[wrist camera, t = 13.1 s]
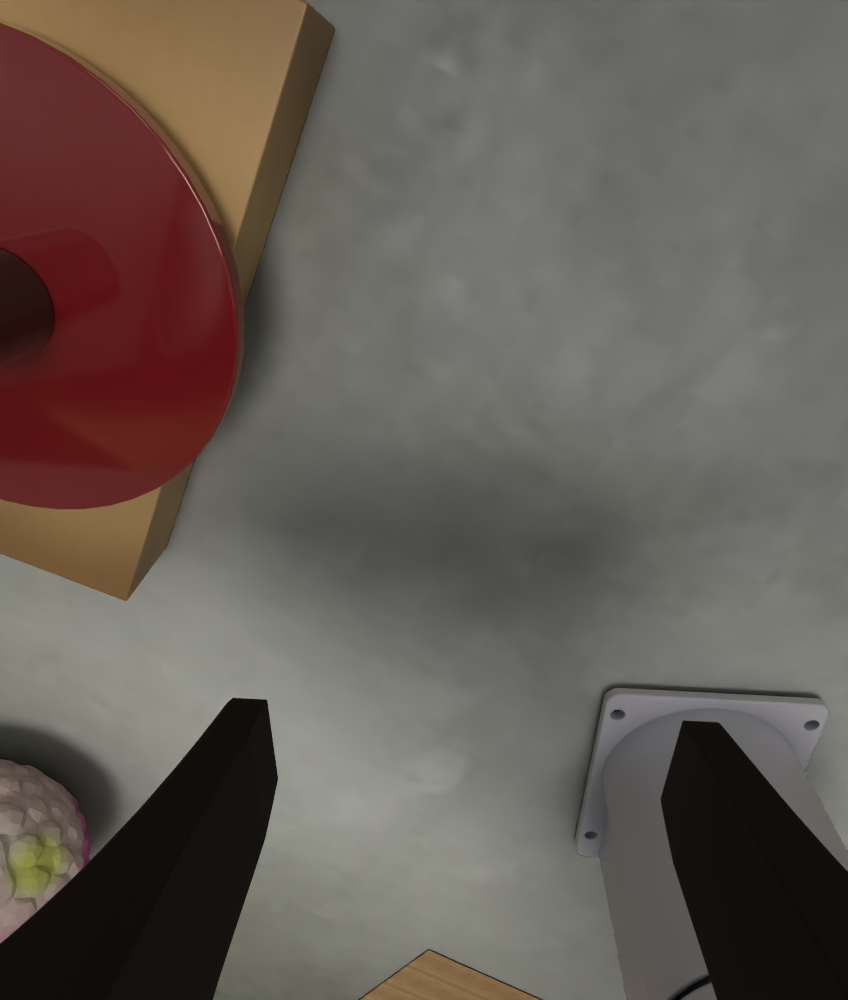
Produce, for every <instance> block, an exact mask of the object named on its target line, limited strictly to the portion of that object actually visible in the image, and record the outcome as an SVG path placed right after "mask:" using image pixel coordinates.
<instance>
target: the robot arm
mask: <svg viewBox="0 0 848 1000" xmlns="http://www.w3.org/2000/svg"><path fill="white" fill-rule="evenodd" d="M614 710H620V711H618V712H613V711H614ZM829 713H830V711H829V709H828V707H827V705H826V704H825V702H824V701H822V700H821V699H817V698H802V697H783V696H764V695H745V694H725V693H706V692H687V691H668V690H648V689H629V688H614V689H612V690H609V691H608V692H607V693H606V694H605V696H604V700H603V705H602V710H601V715H600V720H599V724H598V729H597V734H596V739H595V744H594V749H593V754H592V759H591V764H590V769H589V773H588V778H587V783H586V788H585V793H584V798H583V803H582V808H581V813H580V818H579V822H578V827H577V832H576V837H575V849H576V852H577V853H578V854H579V855H581V856H585V857H599V858H600V862H601V867H602V873H603V878H604V883H605V888H606V894H607V899H608V904H609V909H610V915H611V920H612V925H613V931H614V936H615V941H616V946H617V952H618V957H619V962H620V967H621V973H622V978H623V983H624V989H625V994H626V998H627V1000H848V851H847V849H846V847H845V845H844V844H843V842H842V840H841V838H840V836H839V834H838V833H837V831H836V829H835V827H834V825H833V823H832V821H831V820H830V818H829V816H828V814H827V812H826V810H825V809H824V807H823V805H822V803H821V801H820V799H819V797H818V796H817V794H816V792H815V790H814V788H813V786H812V785H811V783H810V781H809V779H808V777H807V775H806V773H805V770H806V767H807V765H808V763H809V760H810V758H811V756H812V753H813V751H814V749H815V747H816V744H817V742H818V740H819V737H820V735H821V733H822V731H823V728H824V726H825V724H826V721H827V719H828V717H829ZM808 721H809V722H808ZM277 781H278V776H277V768H276V761H275V754H274V747H273V739H272V732H271V725H270V718H269V710H268V703H267V700H261V699H241V698H233V699H231V700H230V701H229V702H228V703H227V704H226V705H225V706H224V708H223V709H222V710H221V712H220V713H219V714H218V715H217V717H216V718H215V719H214V721H213V722H212V723H211V724H210V726H209V727H208V728H207V730H206V731H205V732H204V733H203V735H202V736H201V737H200V738H199V740H198V741H197V742H196V743H195V745H194V746H193V747H192V748H191V749H190V751H189V752H188V753H187V754H186V756H185V757H184V758H183V759H182V760H181V762H180V763H179V764H178V765H177V766H176V768H175V769H174V770H173V771H172V772H171V773H170V775H169V776H168V777H167V778H166V779H165V780H164V781H163V783H162V784H161V785H160V786H159V787H158V788H157V790H156V791H155V792H154V793H153V794H152V795H151V797H150V798H149V799H148V800H147V801H146V802H145V803H144V804H143V806H142V807H141V808H140V809H139V810H138V811H137V812H136V813H135V814H134V815H133V816H132V817H131V819H130V820H129V821H128V822H127V823H126V824H125V825H124V826H123V827H122V828H121V829H120V830H119V831H118V832H117V833H116V834H115V836H114V837H113V838H112V839H111V840H110V841H109V842H108V843H107V844H106V845H105V846H104V847H103V848H102V849H101V850H100V851H99V852H98V853H97V854H96V855H95V856H94V857H93V858H92V859H91V860H90V861H89V862H88V863H87V864H86V865H85V866H84V867H83V868H82V869H81V870H80V871H79V872H78V873H77V874H76V875H75V876H74V877H73V878H72V879H71V880H70V881H69V882H68V883H67V884H66V885H65V886H64V887H63V888H62V889H61V890H60V891H58V892H57V893H56V894H55V895H54V896H53V897H52V898H51V899H50V900H49V901H48V902H47V903H46V904H45V905H44V906H42V907H41V908H40V909H39V910H38V911H37V912H36V913H35V914H34V915H32V916H31V917H30V918H29V919H28V920H27V921H26V922H24V923H23V924H22V925H21V926H20V927H19V928H18V929H16V930H15V931H14V932H13V933H12V934H11V935H10V936H8V937H7V938H6V939H5V940H4V941H3V942H2V943H0V1000H213V997H214V994H215V990H216V987H217V983H218V980H219V977H220V974H221V971H222V968H223V965H224V962H225V959H226V956H227V953H228V950H229V947H230V944H231V941H232V938H233V935H234V932H235V929H236V926H237V922H238V919H239V916H240V913H241V910H242V907H243V904H244V901H245V898H246V895H247V892H248V889H249V886H250V883H251V880H252V877H253V874H254V871H255V868H256V865H257V862H258V859H259V856H260V853H261V850H262V846H263V843H264V840H265V837H266V832H267V828H268V823H269V819H270V814H271V810H272V805H273V800H274V795H275V790H276V786H277Z"/></svg>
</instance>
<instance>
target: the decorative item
mask: <svg viewBox="0 0 848 1000" xmlns="http://www.w3.org/2000/svg"><path fill="white" fill-rule="evenodd" d="M90 845H91V844H90V842H89V839H88V834H87V829H86V821H85V818H84V816H83V815H82V814H81V812H80V811H79V809H78V802H77V800H76V799H75V798H74V797H73V796H72V795H71V794H70V793H69V792H68V791H67V790H66V789H65V788H64V787H63V786H62V785H61V784H60V783H58V782H55V781H54V780H53V779H51V778H50V777H47V776H45V775H44V774H43V773H42V772H41V771H39V770H37V769H36V768H34V767H32V766H29V765H18V764H17V763H15V762H13V761H9V760H3V759H0V943H2V942H3V941H4V940H5V939H6V938H7V937H8V936H10V935H11V934H12V933H13V932H14V931H15V930H16V929H18V928H19V927H20V926H21V925H22V924H23V923H24V922H26V921H27V920H28V919H29V918H30V917H31V916H32V915H34V914H35V913H36V912H37V911H38V910H39V909H40V908H41V907H42V906H44V905H45V904H46V903H47V902H48V901H49V900H50V899H51V898H52V897H53V896H54V895H55V894H56V893H57V892H58V891H60V890H61V889H62V888H63V887H64V886H65V885H66V884H67V883H68V882H69V881H70V880H71V879H72V878H73V877H74V876H75V875H76V874H77V873H78V872H79V871H80V870H81V869H82V868H83V867H84V866H85V865H86V864H87V863H88V862H89V861H90V860H89V857H88V856H89V855H90Z"/></svg>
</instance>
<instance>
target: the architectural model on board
mask: <svg viewBox="0 0 848 1000" xmlns="http://www.w3.org/2000/svg"><path fill="white" fill-rule="evenodd" d="M360 1000H539V999H537V998H535V997H533V996H530V995H528V994H526V993H524V992H521V991H519V990H517V989H515V988H512V987H510V986H508V985H506V984H503V983H501V982H499V981H497V980H494V979H492V978H490V977H488V976H485V975H483V974H481V973H479V972H476V971H474V970H472V969H470V968H467V967H465V966H463V965H461V964H458V963H456V962H454V961H452V960H449V959H447V958H445V957H443V956H440V955H438V954H436V953H434V952H431V951H429V950H428V951H427V952H425V953H424V954H422V955H421V956H420V957H418V958H417V959H416V960H414V961H413V962H411V963H410V964H409V965H407V966H406V967H404V968H403V969H402V970H400V971H399V972H398V973H396V974H395V975H393V976H392V977H391V978H389V979H388V980H387V981H385V982H384V983H382V984H381V985H380V986H378V987H377V988H375V989H374V990H373V991H371V992H370V993H369V994H367V995H366V996H364V997H363V998H362V999H360Z"/></svg>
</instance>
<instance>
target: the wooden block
mask: <svg viewBox="0 0 848 1000" xmlns="http://www.w3.org/2000/svg"><path fill="white" fill-rule="evenodd" d="M0 22H4V23H8V24H11V25H13V26H16V27H18V28H21V29H23V30H26V31H28V32H31V33H33V34H36V35H38V36H41V37H43V38H46V39H48V40H49V41H51V42H53V43H55V44H57V45H58V46H60V47H62V48H64V49H66V50H67V51H69V52H71V53H73V54H75V55H76V56H78V57H80V58H82V59H83V60H84V61H86V62H87V63H89V64H90V65H91V66H93V67H94V68H96V69H97V70H98V71H100V72H101V73H102V74H104V75H105V76H107V77H108V78H109V79H111V80H112V81H114V82H115V83H116V84H117V85H118V86H119V87H120V88H122V89H123V90H124V91H125V92H126V93H127V94H128V95H129V96H130V97H131V98H133V99H134V100H135V101H136V102H137V103H138V104H139V105H140V106H141V107H142V108H144V109H145V110H146V111H147V113H148V114H149V115H150V116H151V117H152V118H153V119H154V120H155V122H156V123H157V124H158V125H159V126H160V127H161V128H162V129H163V131H164V132H165V133H166V134H167V135H168V136H169V137H170V138H171V140H172V141H173V142H174V144H175V145H176V146H177V148H178V149H179V151H180V152H181V153H182V155H183V156H184V158H185V159H186V160H187V162H188V163H189V165H190V166H191V167H192V169H193V170H194V172H195V173H196V175H197V177H198V178H199V180H200V182H201V184H202V186H203V187H204V189H205V191H206V193H207V194H208V196H209V198H210V200H211V202H212V203H213V205H214V207H215V210H216V212H217V214H218V217H219V219H220V221H221V224H222V226H223V228H224V231H225V233H226V235H227V238H228V240H229V244H230V247H231V250H232V254H233V257H234V260H235V264H236V267H237V270H238V275H239V281H240V286H241V292H242V298H243V303H244V306H245V303H246V300H247V297H248V294H249V291H250V288H251V285H252V282H253V279H254V275H255V272H256V269H257V266H258V263H259V260H260V257H261V254H262V251H263V248H264V245H265V242H266V239H267V236H268V232H269V229H270V226H271V223H272V220H273V217H274V214H275V211H276V208H277V205H278V202H279V199H280V196H281V193H282V189H283V186H284V183H285V180H286V177H287V174H288V171H289V168H290V165H291V162H292V159H293V156H294V153H295V149H296V146H297V143H298V140H299V137H300V134H301V131H302V128H303V125H304V122H305V119H306V116H307V113H308V110H309V106H310V103H311V100H312V97H313V94H314V91H315V88H316V85H317V82H318V79H319V76H320V73H321V70H322V67H323V63H324V60H325V57H326V54H327V51H328V48H329V45H330V42H331V39H332V36H333V33H334V30H335V28H334V26H333V25H332V24H331V23H329V22H328V21H327V20H326V19H325V18H324V17H323V16H322V15H320V14H319V13H318V12H317V11H316V10H315V9H314V8H313V7H311V6H310V5H309V4H308V3H307V2H305V1H303V0H0ZM193 463H194V461H193V462H192V463H191V464H190V465H188V466H187V467H186V468H185V469H184V470H183V471H182V472H180V473H179V474H178V475H177V476H176V477H174V478H173V479H171V480H170V481H168V482H167V483H165V484H163V485H162V486H160V487H159V488H157V489H155V490H153V491H151V492H149V493H146V494H144V495H142V496H140V497H137V498H135V499H132V500H128V501H125V502H121V503H118V504H114V505H110V506H104V507H96V508H89V509H50V508H40V507H32V506H27V505H22V504H17V503H13V502H8V501H4V500H1V499H0V553H1V554H3V555H6V556H9V557H11V558H14V559H17V560H19V561H22V562H24V563H27V564H30V565H32V566H35V567H38V568H40V569H43V570H46V571H48V572H51V573H53V574H56V575H59V576H61V577H64V578H67V579H69V580H72V581H75V582H77V583H80V584H82V585H85V586H88V587H90V588H93V589H96V590H98V591H101V592H104V593H106V594H109V595H112V596H114V597H117V598H119V599H122V600H125V601H127V600H128V599H129V597H130V596H131V594H132V593H133V592H134V590H135V589H136V588H137V586H138V585H139V584H140V582H141V581H142V580H143V578H144V577H145V575H146V574H147V573H148V571H149V570H150V569H151V567H152V566H153V565H154V563H155V562H156V561H157V559H158V558H159V556H160V555H161V554H162V552H163V551H164V550H165V548H166V546H167V543H168V540H169V537H170V534H171V531H172V527H173V524H174V521H175V518H176V515H177V512H178V509H179V506H180V503H181V500H182V497H183V494H184V491H185V487H186V484H187V481H188V478H189V475H190V472H191V469H192V466H193Z"/></svg>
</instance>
